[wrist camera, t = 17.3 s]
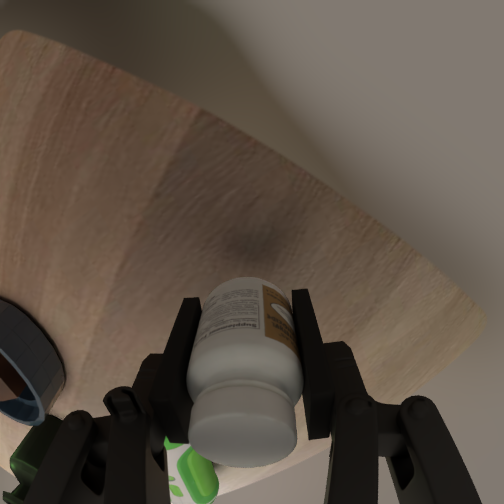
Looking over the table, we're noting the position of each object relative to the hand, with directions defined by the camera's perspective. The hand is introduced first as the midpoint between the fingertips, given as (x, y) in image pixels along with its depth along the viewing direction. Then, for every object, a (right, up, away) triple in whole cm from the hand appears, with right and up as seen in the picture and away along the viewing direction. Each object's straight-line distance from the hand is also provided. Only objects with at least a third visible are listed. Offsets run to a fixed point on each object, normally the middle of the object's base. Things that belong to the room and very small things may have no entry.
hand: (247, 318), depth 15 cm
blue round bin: (-27, -8, +12) cm, 31 cm away
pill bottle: (0, 0, 0) cm, 1 cm away
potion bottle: (-27, -22, +18) cm, 39 cm away
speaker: (-8, -18, +16) cm, 25 cm away
